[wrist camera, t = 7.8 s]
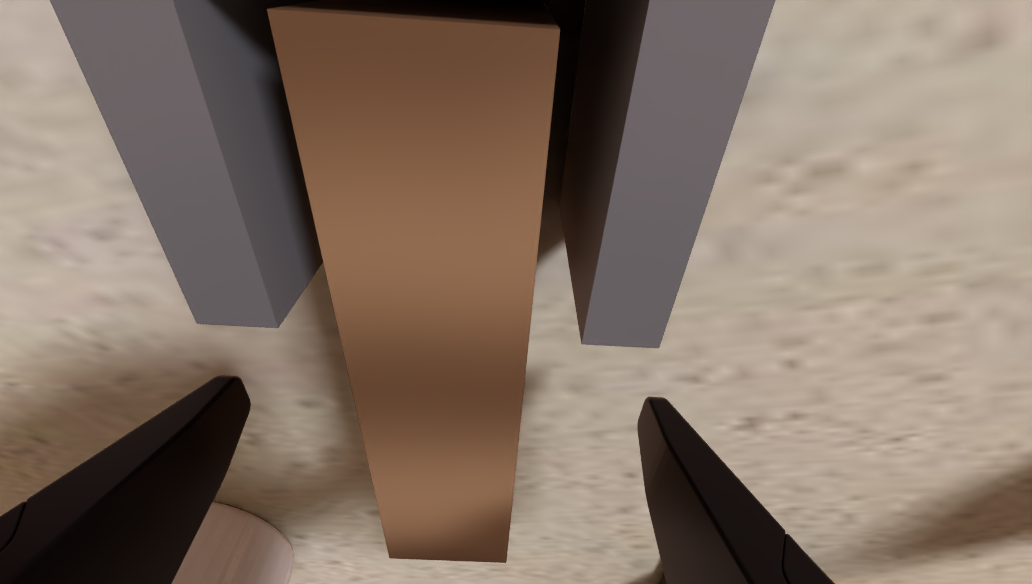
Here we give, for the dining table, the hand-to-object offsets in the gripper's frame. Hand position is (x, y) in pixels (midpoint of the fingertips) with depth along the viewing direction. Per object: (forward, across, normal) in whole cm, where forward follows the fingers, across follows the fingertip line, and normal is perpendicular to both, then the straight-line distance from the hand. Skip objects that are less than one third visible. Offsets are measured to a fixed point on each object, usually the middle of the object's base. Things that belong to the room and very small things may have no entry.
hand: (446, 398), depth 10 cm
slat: (+4, 0, -1) cm, 4 cm away
